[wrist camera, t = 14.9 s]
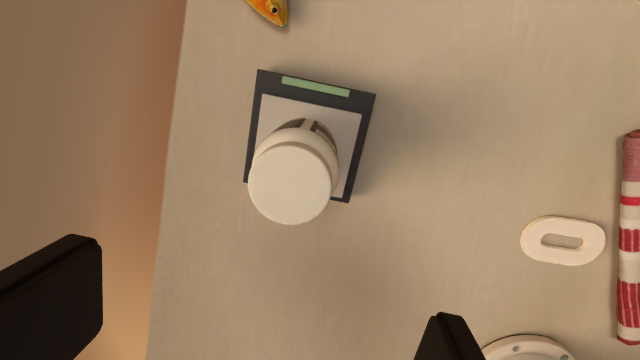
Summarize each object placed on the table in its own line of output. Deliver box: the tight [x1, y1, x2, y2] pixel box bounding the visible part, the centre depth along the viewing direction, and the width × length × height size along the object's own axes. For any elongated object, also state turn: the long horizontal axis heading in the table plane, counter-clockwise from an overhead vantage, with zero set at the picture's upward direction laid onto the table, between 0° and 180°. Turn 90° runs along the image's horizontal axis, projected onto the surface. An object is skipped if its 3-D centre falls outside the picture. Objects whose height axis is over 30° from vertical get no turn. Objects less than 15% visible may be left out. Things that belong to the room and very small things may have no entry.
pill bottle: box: [248, 118, 339, 225], centre depth 21 cm, size 6×6×10 cm
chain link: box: [520, 216, 606, 266], centre depth 30 cm, size 8×1×5 cm
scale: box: [243, 69, 376, 203], centre depth 27 cm, size 10×10×3 cm
